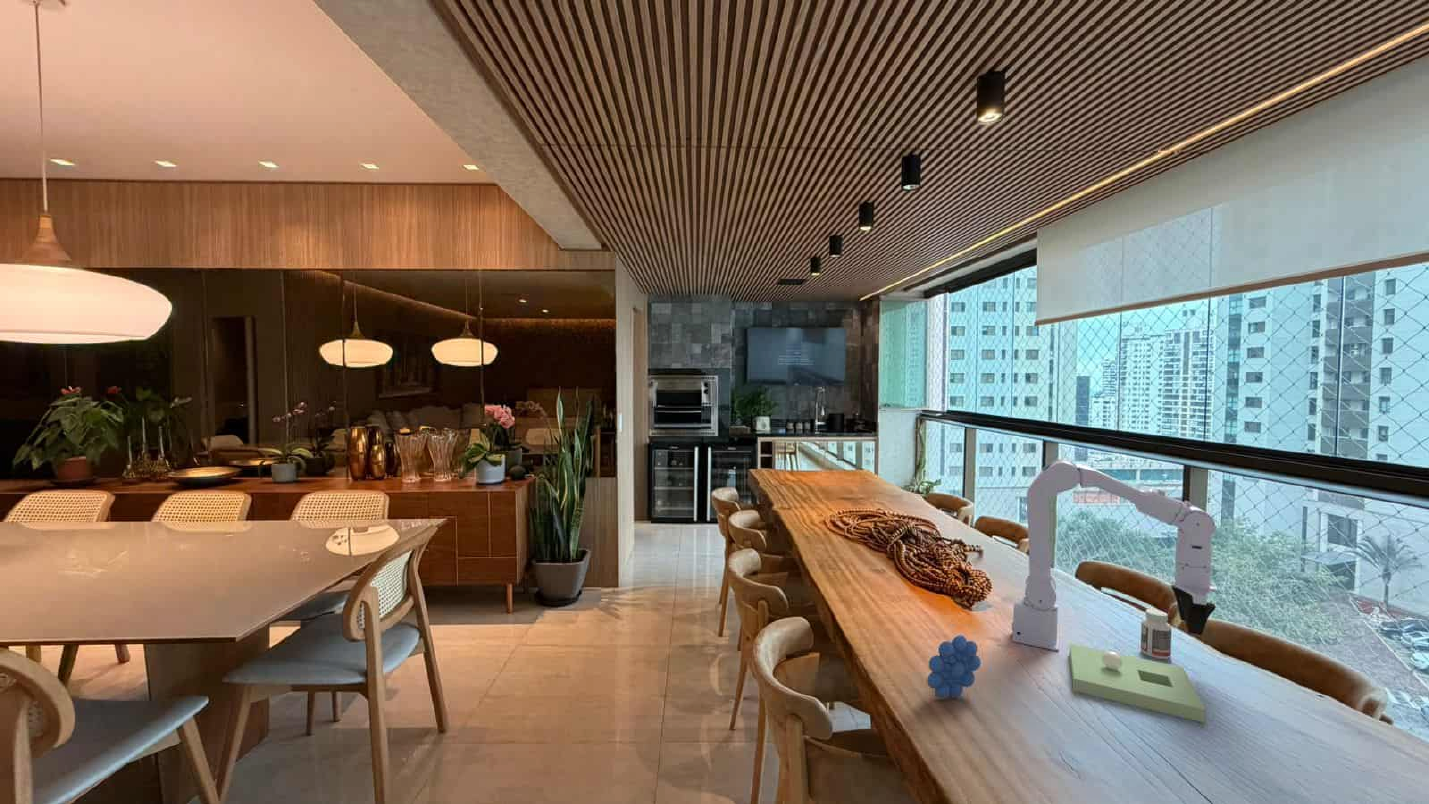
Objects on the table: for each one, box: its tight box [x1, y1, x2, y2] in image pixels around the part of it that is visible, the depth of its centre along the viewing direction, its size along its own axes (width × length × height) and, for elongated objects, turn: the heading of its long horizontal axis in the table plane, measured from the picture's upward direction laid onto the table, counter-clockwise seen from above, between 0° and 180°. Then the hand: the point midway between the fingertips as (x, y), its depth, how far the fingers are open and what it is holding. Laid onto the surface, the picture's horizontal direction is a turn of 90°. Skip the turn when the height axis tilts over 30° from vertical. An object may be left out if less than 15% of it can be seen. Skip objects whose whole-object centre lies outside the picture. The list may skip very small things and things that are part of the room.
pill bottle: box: [1140, 608, 1172, 660], centre depth 126 cm, size 5×5×10 cm
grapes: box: [926, 635, 981, 699], centre depth 108 cm, size 12×7×12 cm, turn 105°
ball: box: [1102, 650, 1123, 670], centre depth 114 cm, size 4×4×4 cm
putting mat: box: [1069, 643, 1206, 724], centre depth 112 cm, size 20×18×2 cm
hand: (1190, 627), depth 117 cm, fingers open, 7 cm apart
